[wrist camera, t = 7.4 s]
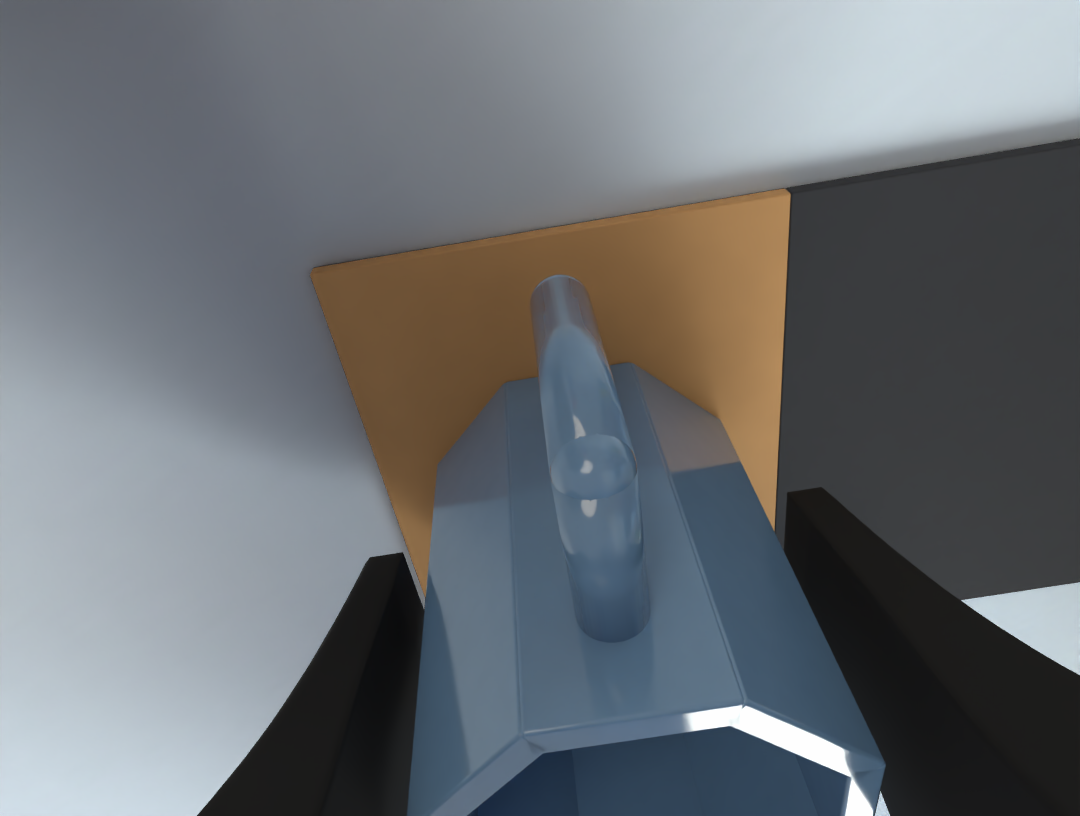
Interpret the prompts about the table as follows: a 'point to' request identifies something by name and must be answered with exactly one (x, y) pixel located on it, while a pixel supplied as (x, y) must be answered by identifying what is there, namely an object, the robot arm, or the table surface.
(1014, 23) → the table surface
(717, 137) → the table surface
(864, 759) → the mug
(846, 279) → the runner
